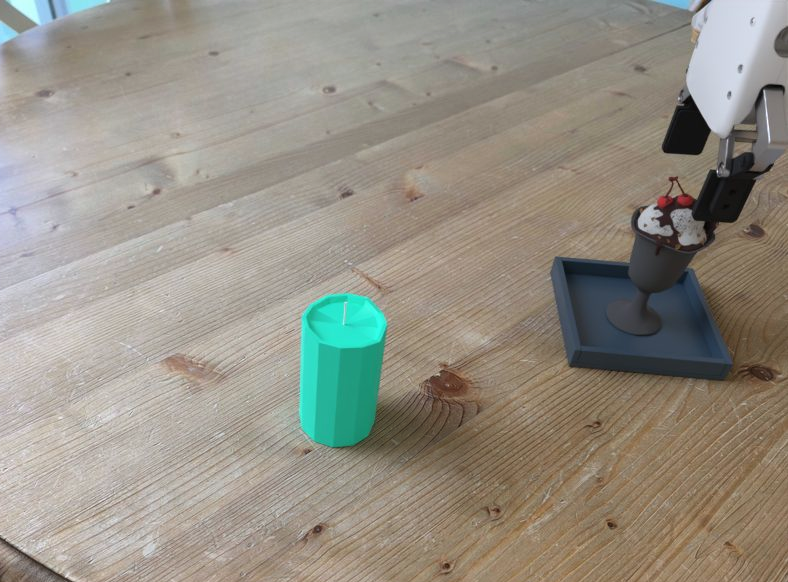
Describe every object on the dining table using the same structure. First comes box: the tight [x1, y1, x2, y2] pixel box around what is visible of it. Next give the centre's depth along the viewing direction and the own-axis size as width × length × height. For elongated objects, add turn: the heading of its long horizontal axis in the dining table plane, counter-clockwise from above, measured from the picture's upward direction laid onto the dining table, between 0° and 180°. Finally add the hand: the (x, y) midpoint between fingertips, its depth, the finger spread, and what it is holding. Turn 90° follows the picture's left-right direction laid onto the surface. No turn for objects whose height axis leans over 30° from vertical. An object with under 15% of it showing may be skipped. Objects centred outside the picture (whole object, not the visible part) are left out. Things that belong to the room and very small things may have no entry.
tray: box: [549, 256, 734, 381], centre depth 68 cm, size 13×13×2 cm
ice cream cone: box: [684, 0, 714, 86], centre depth 98 cm, size 6×6×15 cm
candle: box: [298, 292, 388, 448], centre depth 55 cm, size 6×6×12 cm
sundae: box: [606, 175, 720, 336], centre depth 63 cm, size 7×7×15 cm
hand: (695, 184), depth 59 cm, fingers open, 9 cm apart
